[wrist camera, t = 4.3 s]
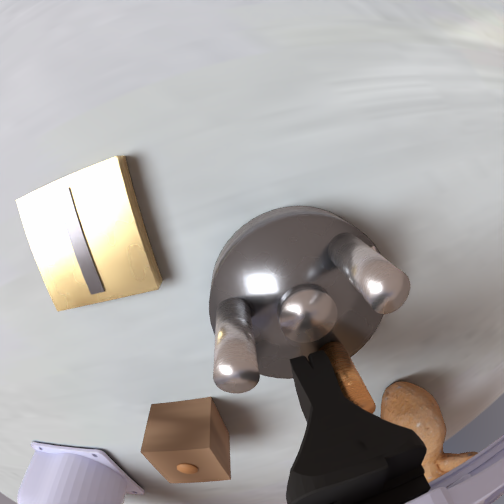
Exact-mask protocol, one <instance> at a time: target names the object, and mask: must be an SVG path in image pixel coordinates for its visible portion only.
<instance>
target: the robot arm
mask: <svg viewBox="0 0 504 504" xmlns="http://www.w3.org/2000/svg"><path fill="white" fill-rule="evenodd" d="M290 364H291V368H292V373H293V378H294V382H295V387H296V391H297V395H298V398H299V402H300V405H301V409H302V411H303V414H304V416H305V418H306V421H307V427H306V431H305V435H304V438H303V441H302V444H301V447H300V449H299V452H298V455H297V457H296V459H295V461H294V463H293V466H292V468H291V470H290V476H289V480H288V485H287V491H286V500H287V504H491V503H493V502H494V501H495V500H497V499H498V498H499V497H500V496H502V495H503V494H504V435H502V436H501V437H500V438H498V439H497V440H496V441H495V442H493V443H492V444H490V445H489V446H488V447H486V448H485V449H484V450H482V451H481V452H479V453H478V454H476V455H475V456H473V457H472V458H470V459H469V460H467V461H465V462H464V463H462V464H461V465H459V466H457V467H456V468H454V469H452V470H451V471H449V472H447V473H446V474H444V475H442V476H440V477H438V478H437V479H435V480H433V481H431V482H429V483H428V481H427V479H426V478H425V476H424V473H425V470H424V468H423V466H422V465H421V464H422V462H423V460H424V457H425V455H426V452H427V448H426V446H425V444H424V442H423V441H422V440H421V438H420V437H419V436H418V435H417V434H416V433H415V432H414V431H413V430H412V429H409V428H406V427H402V426H399V425H397V424H394V423H391V422H389V421H386V420H384V419H382V418H380V417H378V416H376V415H374V414H372V413H370V412H368V411H366V410H364V409H362V408H361V407H359V406H357V405H356V404H354V403H353V402H351V401H350V400H349V399H347V398H346V397H344V396H343V393H342V391H341V389H340V386H339V383H338V381H337V378H336V375H335V373H334V370H333V367H332V365H331V362H330V360H329V358H328V356H327V355H326V353H325V352H324V350H321V351H317V352H314V353H310V354H309V355H308V360H307V358H306V357H305V356H299V357H296V358H292V359H290ZM31 447H32V448H33V449H34V450H35V453H34V455H33V457H32V459H31V461H30V464H29V466H28V468H27V471H26V473H25V475H24V478H23V480H22V483H21V485H20V488H19V491H18V504H123V503H124V498H125V493H128V494H144V490H143V489H142V488H141V487H140V486H139V485H138V484H136V483H135V482H134V481H133V480H132V479H131V478H130V477H129V476H128V475H127V474H126V473H125V472H124V471H123V470H122V469H121V468H120V467H119V466H118V465H116V463H115V462H114V461H113V460H112V459H111V458H110V457H109V456H108V455H107V454H106V453H105V452H103V451H101V450H96V449H83V448H73V447H64V446H56V445H49V444H42V443H36V442H32V443H31Z"/></svg>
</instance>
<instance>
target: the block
mask: <svg viewBox="0 0 504 504" xmlns="http://www.w3.org/2000/svg"><path fill="white" fill-rule="evenodd" d="M141 453H142V454H143V455H144V456H145V457H146V459H147V460H148V461H149V462H150V463H151V464H152V465H153V466H154V467H155V468H156V469H157V470H158V471H159V473H160V474H161V475H162V476H163V477H164V478H165V479H166V480H167V481H168V482H169V483H193V482H209V481H220V480H230V479H231V471H230V443H229V432H228V430H227V428H226V426H225V424H224V422H223V420H222V418H221V416H220V414H219V412H218V410H217V408H216V406H215V404H214V402H213V400H212V398H211V397H207V398H200V399H193V400H185V401H177V402H169V403H159V404H151V408H150V413H149V417H148V421H147V425H146V430H145V434H144V439H143V443H142V448H141Z"/></svg>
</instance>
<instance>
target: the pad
mask: <svg viewBox="0 0 504 504" xmlns="http://www.w3.org/2000/svg"><path fill="white" fill-rule="evenodd" d="M16 201H17V205H18V209H19V212H20V215H21V219H22V222H23V225H24V228H25V232H26V235H27V238H28V240H29V243H30V246H31V249H32V252H33V255H34V257H35V260H36V262H37V265H38V268H39V270H40V273H41V275H42V277H43V280H44V282H45V285H46V287H47V289H48V292H49V294H50V296H51V298H52V300H53V303H54V305H55V307H56V309H57V311H62V310H66V309H71V308H76V307H80V306H85V305H90V304H94V303H99V302H104V301H108V300H113V299H117V298H122V297H126V296H131V295H135V294H140V293H144V292H149V291H153V290H158V289H159V287H160V285H161V283H162V277H161V274H160V271H159V268H158V266H157V263H156V260H155V257H154V254H153V251H152V248H151V245H150V242H149V239H148V235H147V232H146V229H145V226H144V223H143V219H142V216H141V213H140V209H139V206H138V203H137V199H136V196H135V192H134V189H133V185H132V181H131V178H130V174H129V170H128V166H127V162H126V158H125V156H116V157H113V158H110V159H108V160H105V161H103V162H100V163H97V164H95V165H92V166H90V167H87V168H85V169H83V170H80V171H78V172H75V173H73V174H71V175H68V176H66V177H64V178H62V179H59V180H57V181H55V182H53V183H51V184H48V185H46V186H44V187H42V188H40V189H38V190H36V191H34V192H32V193H30V194H28V195H26V196H24V197H22V198H20V199H18V200H16Z"/></svg>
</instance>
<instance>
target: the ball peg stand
mask: <svg viewBox="0 0 504 504" xmlns="http://www.w3.org/2000/svg"><path fill="white" fill-rule="evenodd" d="M409 291H410V281H409V278H408V276H407V275H406V274H405V273H404V272H402V271H401V270H400V269H398V268H397V267H396V266H395V265H393V264H392V263H391V262H389V261H388V260H387V259H385V258H384V257H383V256H381V254H380V252H379V250H378V249H377V248H376V246H375V245H374V243H373V242H372V241H371V240H370V239H369V238H368V237H367V236H366V235H365V234H364V233H362V232H361V231H360V230H359V229H357V228H356V227H354V226H353V225H351V224H350V223H348V222H346V221H345V220H343V219H342V218H340V217H338V216H336V215H335V214H333V213H331V212H328V211H325V210H323V209H319V208H314V207H308V206H290V207H283V208H279V209H274V210H272V211H269V212H266V213H263V214H261V215H259V216H257V217H255V218H253V219H252V220H250V221H249V222H248V223H246V224H245V225H243V226H242V227H241V228H240V229H239V230H238V231H236V232H235V233H234V234H233V236H232V237H231V238H230V239H229V240H228V241H227V243H226V244H225V246H224V247H223V249H222V251H221V252H220V254H219V257H218V259H217V261H216V264H215V267H214V270H213V276H212V282H211V291H210V300H209V315H210V321H211V325H212V328H213V331H214V334H215V349H214V372H213V379H214V382H215V384H216V385H217V387H219V388H220V389H221V390H223V391H226V392H229V393H243V392H247V391H249V390H251V389H253V388H254V387H255V386H256V385H257V383H258V382H259V378H260V375H259V374H261V375H264V376H268V377H274V378H286V379H290V378H293V373H292V368H291V364H290V359H292V358H296V357H299V356H305V357H306V358H307V360H308V355H309V354H310V353H314V352H317V351H321V350H324V352H325V353H326V355H327V356H328V358H329V360H330V362H331V365H332V367H333V370H334V373H335V375H336V378H337V381H338V383H339V386H340V389H341V391H342V393H343V396H344V397H346V398H347V399H349V400H350V401H351V402H353V403H354V404H356V405H357V406H359V407H361V408H362V409H364V410H366V411H368V412H370V413H372V414H373V412H374V411H375V408H376V405H375V403H374V401H373V399H372V397H371V395H370V394H369V392H368V390H367V388H366V386H365V384H364V382H363V380H362V379H361V377H360V375H359V373H358V371H357V369H356V368H355V366H354V364H353V362H352V360H351V358H350V357H352V356H353V355H354V354H355V353H357V352H358V351H359V350H360V349H361V348H362V347H363V346H364V345H365V344H366V342H367V341H368V340H369V339H370V338H371V336H372V335H373V333H374V332H375V330H376V329H377V327H378V325H379V323H380V321H381V319H382V316H383V314H388V313H391V312H394V311H395V310H397V309H398V308H400V307H401V306H402V305H403V303H404V302H405V301H406V299H407V297H408V295H409Z"/></svg>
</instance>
